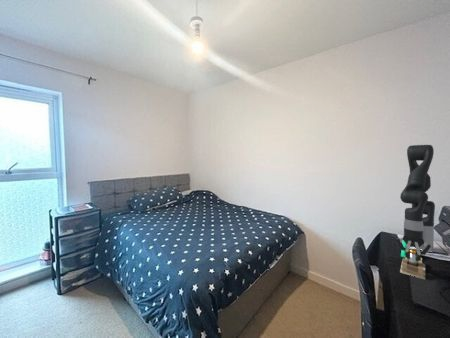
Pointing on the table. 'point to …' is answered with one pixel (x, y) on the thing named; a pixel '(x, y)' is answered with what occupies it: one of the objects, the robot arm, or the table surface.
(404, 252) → the camera mount
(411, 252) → the lock pin
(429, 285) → the table surface
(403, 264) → the dock board
